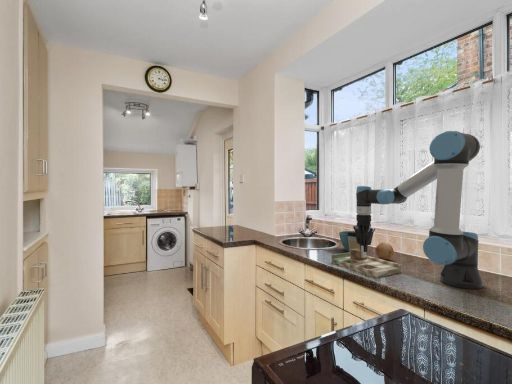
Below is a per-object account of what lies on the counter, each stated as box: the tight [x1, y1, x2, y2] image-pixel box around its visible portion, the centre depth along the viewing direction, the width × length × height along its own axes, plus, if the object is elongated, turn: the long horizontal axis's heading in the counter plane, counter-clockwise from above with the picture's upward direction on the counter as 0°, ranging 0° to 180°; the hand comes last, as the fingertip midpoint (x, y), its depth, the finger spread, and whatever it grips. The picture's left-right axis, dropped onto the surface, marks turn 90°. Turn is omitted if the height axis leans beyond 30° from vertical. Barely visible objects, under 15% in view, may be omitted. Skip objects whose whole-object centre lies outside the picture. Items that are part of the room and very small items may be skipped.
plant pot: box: [338, 230, 351, 253], centre depth 182 cm, size 18×18×12 cm
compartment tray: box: [331, 251, 402, 279], centre depth 144 cm, size 29×18×4 cm, turn 29°
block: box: [350, 248, 368, 261], centre depth 152 cm, size 6×6×5 cm
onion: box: [375, 242, 395, 261], centre depth 160 cm, size 10×10×10 cm
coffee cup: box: [347, 230, 360, 251], centre depth 167 cm, size 9×9×15 cm
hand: (363, 257), depth 149 cm, fingers closed
